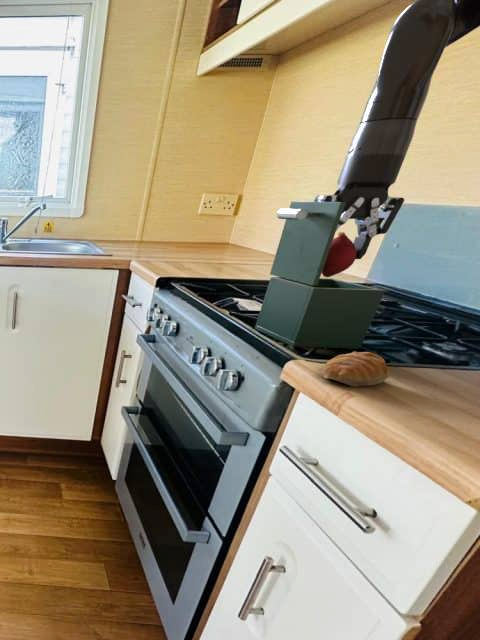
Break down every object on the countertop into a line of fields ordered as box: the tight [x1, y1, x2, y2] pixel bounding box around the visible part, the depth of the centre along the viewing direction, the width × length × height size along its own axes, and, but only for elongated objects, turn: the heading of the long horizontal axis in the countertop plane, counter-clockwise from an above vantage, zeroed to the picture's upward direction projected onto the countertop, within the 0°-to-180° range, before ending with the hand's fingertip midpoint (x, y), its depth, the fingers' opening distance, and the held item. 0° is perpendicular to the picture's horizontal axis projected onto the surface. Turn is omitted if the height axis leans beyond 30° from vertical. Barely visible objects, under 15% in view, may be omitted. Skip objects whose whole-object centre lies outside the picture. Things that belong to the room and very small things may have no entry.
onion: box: [321, 231, 357, 278], centre depth 77 cm, size 6×6×8 cm
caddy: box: [254, 276, 386, 350], centre depth 81 cm, size 13×12×11 cm
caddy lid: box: [269, 200, 346, 286], centre depth 76 cm, size 13×12×5 cm
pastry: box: [322, 350, 391, 388], centre depth 63 cm, size 9×7×4 cm
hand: (337, 257), depth 77 cm, fingers closed on onion, 6 cm apart
